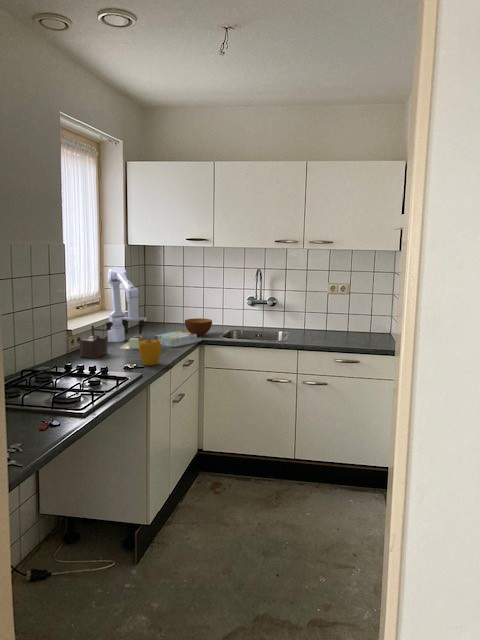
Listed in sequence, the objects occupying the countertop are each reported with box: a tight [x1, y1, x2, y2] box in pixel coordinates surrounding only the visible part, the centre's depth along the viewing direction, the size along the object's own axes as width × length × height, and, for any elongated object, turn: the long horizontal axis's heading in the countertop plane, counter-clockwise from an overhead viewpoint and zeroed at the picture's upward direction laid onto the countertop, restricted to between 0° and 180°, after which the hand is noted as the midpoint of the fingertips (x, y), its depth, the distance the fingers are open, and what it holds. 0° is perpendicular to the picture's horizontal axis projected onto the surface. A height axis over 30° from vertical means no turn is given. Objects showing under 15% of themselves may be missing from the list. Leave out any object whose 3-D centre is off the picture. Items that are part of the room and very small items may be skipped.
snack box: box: [154, 330, 198, 348], centre depth 319 cm, size 21×6×15 cm
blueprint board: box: [119, 341, 139, 350], centre depth 313 cm, size 17×24×1 cm
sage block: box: [128, 337, 139, 350], centre depth 303 cm, size 4×4×5 cm
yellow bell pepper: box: [138, 338, 162, 367], centre depth 267 cm, size 11×11×13 cm
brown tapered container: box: [79, 320, 113, 360], centre depth 286 cm, size 16×11×18 cm
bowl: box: [184, 318, 213, 338], centre depth 345 cm, size 18×18×10 cm
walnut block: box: [132, 335, 144, 344], centre depth 311 cm, size 4×4×5 cm
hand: (133, 333), depth 302 cm, fingers open, 7 cm apart
